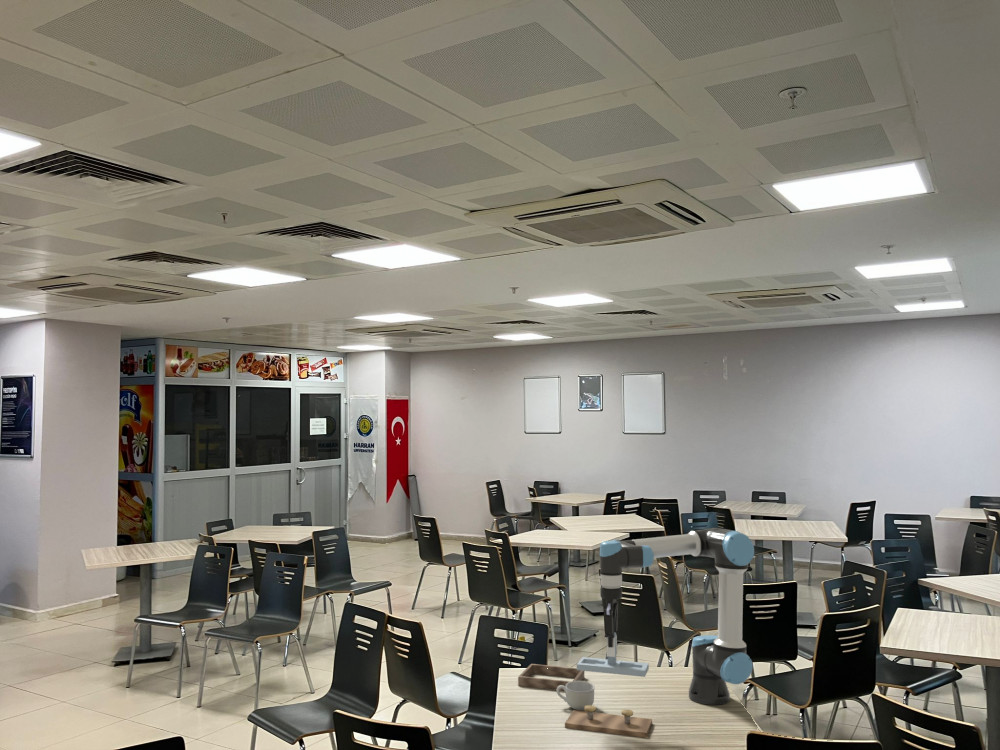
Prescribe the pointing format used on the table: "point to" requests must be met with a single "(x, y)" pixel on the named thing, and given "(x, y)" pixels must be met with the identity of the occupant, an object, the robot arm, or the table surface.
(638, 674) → the blue post stand
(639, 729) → the boss board
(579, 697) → the teacup
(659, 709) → the table surface
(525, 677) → the open brown wooden frame
